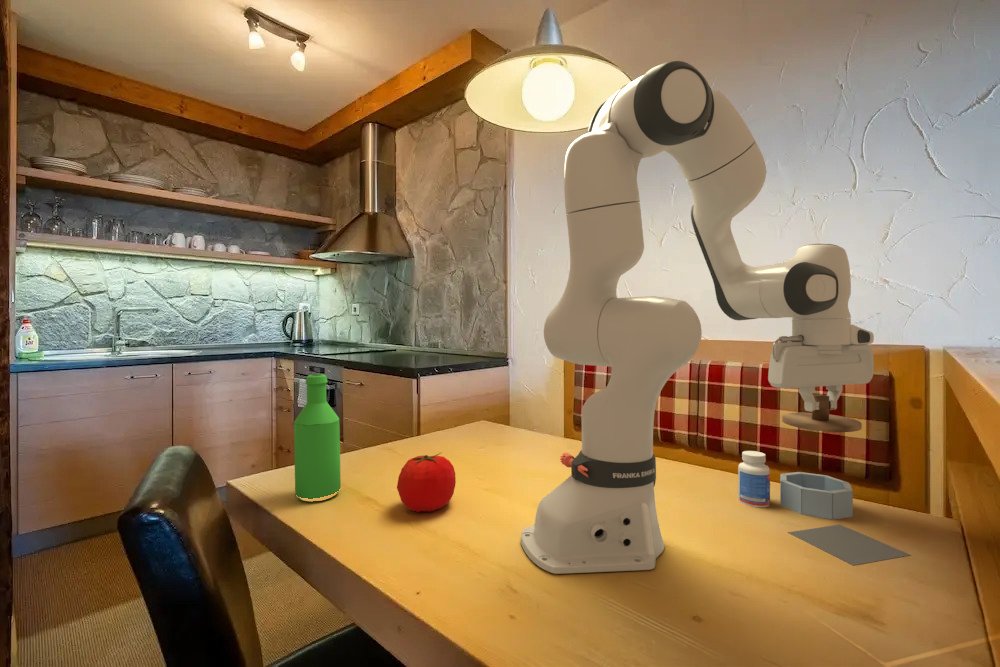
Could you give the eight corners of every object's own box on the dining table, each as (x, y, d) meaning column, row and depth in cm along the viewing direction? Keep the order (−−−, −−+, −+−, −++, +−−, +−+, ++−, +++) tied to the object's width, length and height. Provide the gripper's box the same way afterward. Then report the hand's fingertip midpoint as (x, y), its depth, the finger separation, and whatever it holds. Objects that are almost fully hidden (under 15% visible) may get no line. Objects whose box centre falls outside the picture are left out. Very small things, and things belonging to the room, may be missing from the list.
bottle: (341, 500, 94) (339, 376, 94) (294, 506, 91) (292, 378, 91) (339, 486, 103) (337, 372, 102) (296, 492, 99) (294, 374, 99)
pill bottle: (774, 510, 87) (774, 458, 87) (743, 508, 88) (743, 456, 88) (764, 499, 93) (764, 450, 93) (734, 497, 94) (734, 449, 94)
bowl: (817, 523, 81) (817, 495, 81) (766, 500, 92) (766, 475, 92) (866, 516, 84) (866, 488, 84) (811, 495, 95) (811, 470, 95)
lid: (823, 434, 79) (823, 403, 79) (767, 419, 91) (767, 392, 90) (879, 429, 82) (879, 399, 82) (817, 414, 93) (818, 388, 93)
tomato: (470, 502, 93) (469, 450, 93) (426, 525, 82) (425, 467, 82) (427, 491, 99) (426, 442, 99) (381, 511, 88) (380, 457, 88)
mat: (853, 568, 67) (853, 565, 67) (787, 534, 77) (787, 532, 77) (911, 557, 69) (911, 554, 69) (840, 526, 80) (840, 524, 80)
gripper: (787, 337, 80) (788, 417, 81) (881, 333, 85) (881, 409, 85) (759, 335, 86) (759, 410, 87) (847, 332, 91) (847, 403, 92)
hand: (820, 410), depth 86 cm, fingers closed on lid, 3 cm apart
